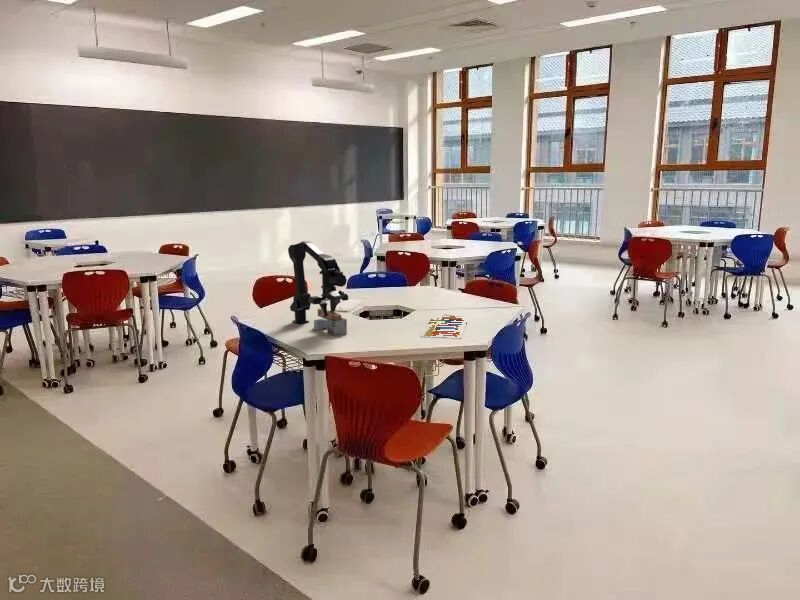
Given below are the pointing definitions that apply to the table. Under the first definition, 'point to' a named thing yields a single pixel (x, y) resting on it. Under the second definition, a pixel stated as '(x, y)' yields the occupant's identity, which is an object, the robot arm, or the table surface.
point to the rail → (329, 315)
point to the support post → (320, 323)
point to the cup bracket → (337, 326)
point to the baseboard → (347, 305)
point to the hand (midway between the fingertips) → (329, 316)
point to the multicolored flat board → (451, 318)
